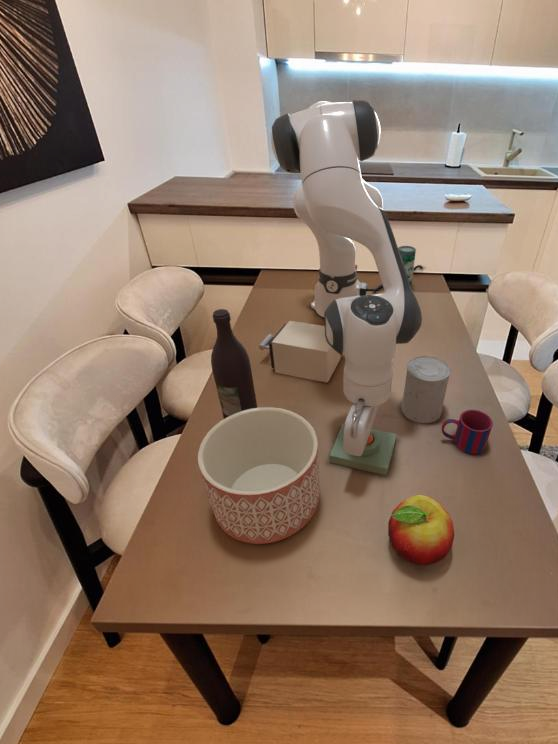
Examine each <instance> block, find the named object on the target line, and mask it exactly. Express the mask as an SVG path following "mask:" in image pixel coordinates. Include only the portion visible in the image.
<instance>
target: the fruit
mask: <svg viewBox="0 0 558 744" xmlns="http://www.w3.org/2000/svg"><path fill="white" fill-rule="evenodd" d="M387 524H388V526H387V528H388V529H387V531H388V532H387V535H388V538H389V541H390V544H391V547H392V548H393V550H394V551H395V552H396V554H397V555H398V556H399V557H400V558H401V559H402V560H404V561H405V562H406V563H409V564H411V565H414V566H419V567H420V566H421V567H429V566H433V565H435V564H438V563H439V562H441V561H442V560H443V559H445V558H446V557H447V556H448V554H449V552H450V551H451V550H452V547H453V544H454V540H455V527H454V521H453V520H452V517H451V516H450V514H449V512H448V511H447V510H446V509H445V507H443V505H442V504H440V502H438V501H436V500H435V499H433V498H431V497H429V496H427V495H425V494H416V495H412V496H408V497H407V498H406V499H404V500H402V501H401V502H399V504H397V506H396V507H395V508H394V509H393V510H392V512H391V515H390V517H389V519H388V523H387Z"/></svg>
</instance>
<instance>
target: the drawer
mask: <svg viewBox="0 0 558 744" xmlns="http://www.w3.org/2000/svg"><path fill="white" fill-rule="evenodd" d="M286 324H287V323H284V324H283V325H282V326H281V328H280V329H279V330H278V332H276V334H275V335H273V333H269V334H268V335H267V336H266V337H265V338H264V339H263V340H262V341H261V342H260V344H259V345H258V349H259V350H260V351H263V350H269V356H270V366H271V369H275V366H274V357H273V348H272V341H273V340H274V339H275V338H276V336H277V335H278V334H279V333H280V332H281V330H282V329H283V328H284V327H285V326H286Z"/></svg>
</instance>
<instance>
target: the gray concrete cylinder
mask: <svg viewBox="0 0 558 744" xmlns="http://www.w3.org/2000/svg"><path fill="white" fill-rule="evenodd" d="M451 371H452V370H451V367H450V365H449V364H448V363H447V362H446V361H444V360H443V359H441V358H438V357H435V356H431V355H418V356H415V357H412V358H411V359H410V360H409V361H408V362H407V365H406V373H405V374H406V375H405V382H404V388H403V396H402V403H401V412H402V414H403V415H404V416H405V417H406V419H409V420H410V421H412V422H414V423H418V424H430V423H433V422H436V421H438V420H440V418H441V416H442V411H443V407H444V401H445V397H446V393H447V389H448V385H449V379H450V375H451Z"/></svg>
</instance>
